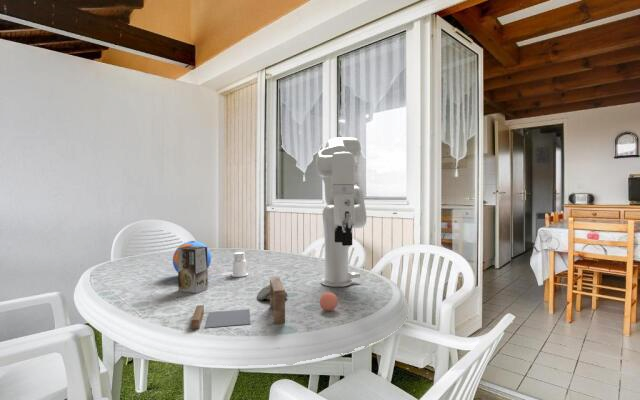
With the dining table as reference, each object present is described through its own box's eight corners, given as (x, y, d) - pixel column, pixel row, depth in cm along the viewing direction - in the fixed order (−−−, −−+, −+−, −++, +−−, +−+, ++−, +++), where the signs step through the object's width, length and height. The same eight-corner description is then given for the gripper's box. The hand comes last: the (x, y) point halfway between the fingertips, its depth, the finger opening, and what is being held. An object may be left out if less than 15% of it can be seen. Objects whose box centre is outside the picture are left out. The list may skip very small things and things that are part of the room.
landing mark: (249, 309, 107) (249, 309, 107) (250, 324, 96) (250, 323, 96) (209, 312, 105) (209, 312, 105) (205, 328, 93) (205, 327, 93)
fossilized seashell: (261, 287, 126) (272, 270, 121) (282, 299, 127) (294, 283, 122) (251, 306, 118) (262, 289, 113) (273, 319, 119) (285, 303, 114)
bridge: (279, 306, 111) (279, 277, 111) (285, 323, 97) (285, 290, 96) (269, 306, 110) (269, 278, 110) (274, 324, 96) (274, 290, 96)
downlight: (252, 274, 152) (251, 252, 152) (240, 278, 146) (239, 254, 146) (239, 273, 157) (238, 251, 157) (227, 276, 151) (226, 253, 151)
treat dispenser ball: (217, 273, 155) (217, 239, 154) (198, 282, 140) (197, 244, 139) (187, 271, 158) (186, 238, 158) (164, 280, 143) (164, 243, 143)
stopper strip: (203, 313, 104) (203, 305, 104) (199, 328, 93) (199, 319, 93) (196, 313, 104) (196, 305, 104) (191, 329, 92) (191, 320, 92)
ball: (334, 306, 110) (334, 289, 110) (339, 312, 105) (339, 294, 105) (317, 308, 109) (317, 290, 109) (321, 314, 104) (321, 295, 103)
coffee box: (208, 289, 130) (208, 246, 130) (195, 293, 124) (195, 249, 124) (190, 286, 134) (190, 245, 134) (177, 290, 128) (176, 247, 128)
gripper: (362, 189, 104) (362, 246, 104) (347, 192, 121) (347, 240, 120) (338, 189, 102) (338, 247, 102) (326, 191, 119) (326, 241, 119)
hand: (343, 243), depth 111 cm, fingers open, 9 cm apart
